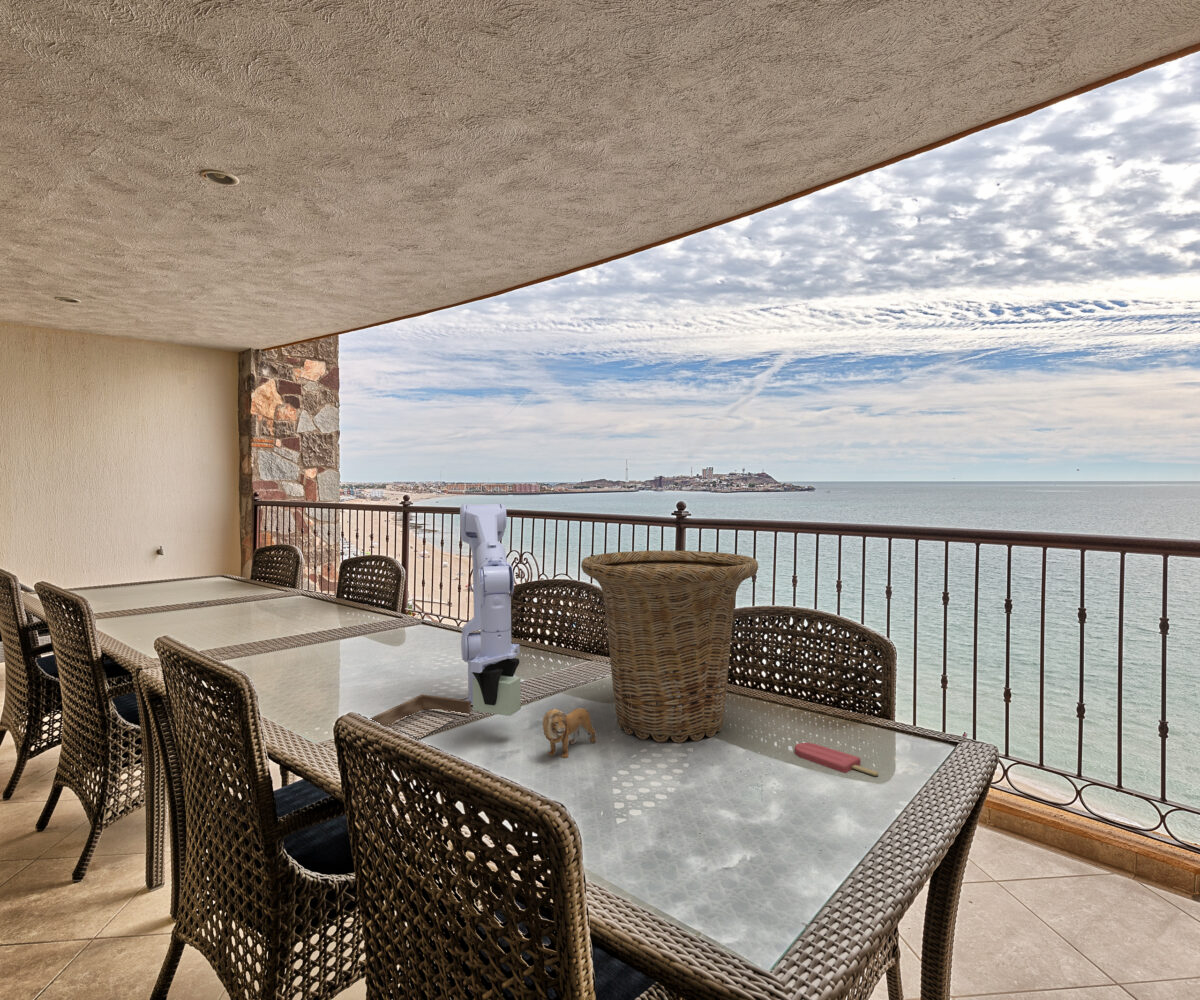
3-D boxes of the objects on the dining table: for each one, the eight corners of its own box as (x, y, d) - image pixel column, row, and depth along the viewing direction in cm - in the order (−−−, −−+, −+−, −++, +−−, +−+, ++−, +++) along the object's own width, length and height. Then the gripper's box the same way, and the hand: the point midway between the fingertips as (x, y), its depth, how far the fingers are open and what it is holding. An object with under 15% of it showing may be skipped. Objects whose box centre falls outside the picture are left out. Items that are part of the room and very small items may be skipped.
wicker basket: (761, 702, 145) (761, 551, 145) (754, 768, 112) (754, 571, 111) (607, 690, 155) (606, 549, 154) (558, 747, 121) (557, 566, 121)
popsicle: (869, 774, 106) (788, 747, 118) (869, 784, 106) (788, 756, 118) (885, 765, 110) (805, 739, 121) (885, 774, 110) (805, 748, 121)
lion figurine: (561, 767, 113) (560, 715, 112) (535, 762, 115) (534, 710, 115) (602, 738, 125) (601, 691, 125) (577, 734, 128) (577, 687, 128)
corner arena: (422, 708, 144) (421, 694, 144) (471, 715, 139) (471, 701, 139) (370, 733, 129) (370, 718, 129) (423, 742, 124) (423, 726, 124)
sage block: (484, 704, 129) (484, 673, 129) (520, 709, 126) (520, 677, 126) (473, 710, 125) (472, 679, 125) (510, 716, 122) (509, 683, 122)
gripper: (493, 639, 117) (494, 715, 117) (532, 623, 130) (533, 691, 131) (460, 636, 120) (460, 710, 120) (501, 620, 133) (502, 687, 133)
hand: (496, 700), depth 125 cm, fingers closed on sage block, 4 cm apart
